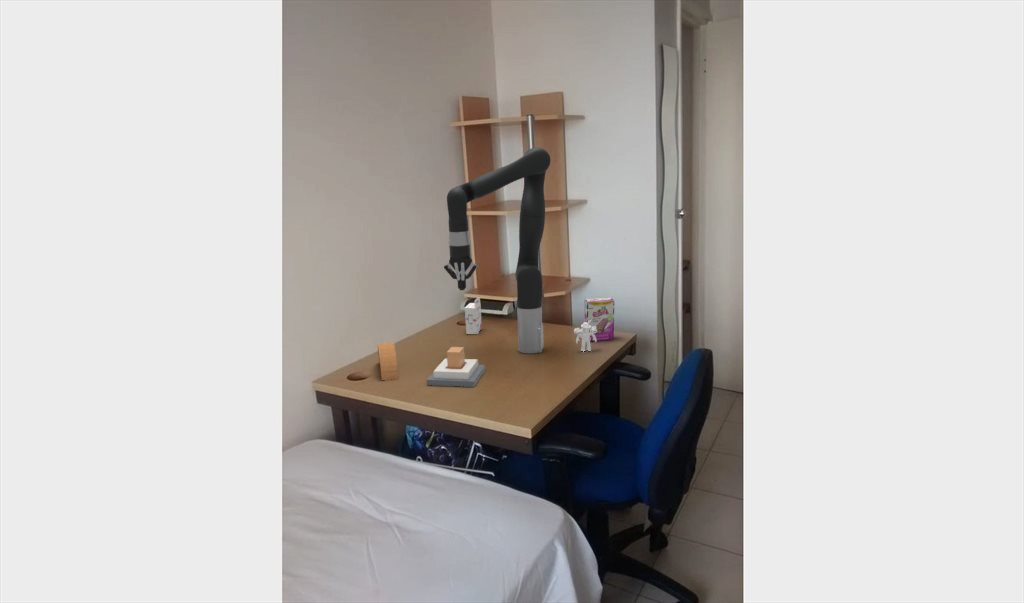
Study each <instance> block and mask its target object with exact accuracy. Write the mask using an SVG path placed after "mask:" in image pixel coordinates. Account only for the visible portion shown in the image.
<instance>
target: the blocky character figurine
mask: <svg viewBox="0 0 1024 603" xmlns="http://www.w3.org/2000/svg"><path fill="white" fill-rule="evenodd" d="M591 321H592V319H591V320H590V321H589V322H588V323H590V322H591ZM588 323H587V322H584V321H583V323H581V325H580V327H581V328H580V327H577V328H576V327H575V328H574V329H573V334H574V335H576V339H575V343H576V344H579V343H578V342H580V341H581V347H580V352H581V351H583V352H582V353H585V352H584V351H586V350H588V351H591V350H592V348H591V347H592V344H591V341H590V335H592V337H593V340H595V341H594V343H597V342H598V341H597V339H596V337H595V335H594V333H596V332H597V329H596V326H592V328H591V329H590V327H591V326H590V325H589V324H588ZM593 331H596V332H593ZM580 338H581V340H580ZM588 351H587V352H588ZM591 352H592V351H591Z"/></svg>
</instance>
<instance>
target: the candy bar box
mask: <svg viewBox="0 0 1024 603" xmlns="http://www.w3.org/2000/svg"><path fill="white" fill-rule="evenodd" d="M583 303H584V313H583V314H584V315H583V316H584V317H583V318H584V320H583V323H584V322H587V323H588V322H589V321H590V320H591V319H592V321H591V322H590V323H588V324H589V325H590V326H591V327H590V329H591V328H592V326H596V329H597V332H596V331H593V332H596V333H594V335H595V337H596V339H597V341H596V342H601V341H614V339H615V338H614V337H615V336H614V334H615V333H614V330H615V299H613V298H612V297H603V298H602V297H600V298H585V299H584V301H583ZM590 342H595V340H593V337H592V335H590Z"/></svg>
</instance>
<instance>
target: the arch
mask: <svg viewBox="0 0 1024 603" xmlns="http://www.w3.org/2000/svg"><path fill="white" fill-rule="evenodd" d="M377 353H378V354H377V356H378V364H379V365H380V376H381V381H382V380H387V381H392V380H391V379H396V380H399V368H398V361H397V352H396V346H395V341H394V342H392V341H391V342H382V343H377Z"/></svg>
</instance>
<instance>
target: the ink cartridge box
mask: <svg viewBox="0 0 1024 603" xmlns="http://www.w3.org/2000/svg"><path fill="white" fill-rule="evenodd" d="M481 307H482V306H481V297H480V296H478V297H477V298H476V299H475V300H474V302H469V303H468V304H467V305H466V306H465V307H464V316H465V332H466V334H477V335H478V334H479V333H480V332H481V331H482V330H483V328H482V327H483V326H482V308H481ZM480 330H481V331H480ZM479 331H480V332H479Z"/></svg>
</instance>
